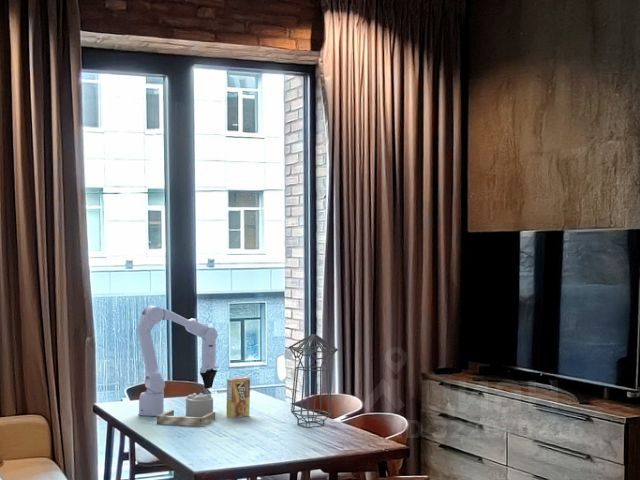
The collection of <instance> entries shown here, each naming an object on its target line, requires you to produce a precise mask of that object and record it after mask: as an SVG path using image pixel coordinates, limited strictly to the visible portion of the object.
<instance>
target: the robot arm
mask: <svg viewBox="0 0 640 480" xmlns="http://www.w3.org/2000/svg"><path fill="white" fill-rule="evenodd" d="M167 320H169V321H171V322H174V323H176V324H178V325H181V326H183V327H184V328H185V330H186V331H187V332H189V333H190V334H192V335H194V336H197V337H198V338H199V337H200V338H201V366H200V368H199V369H200V371H199V375H200V377H201V378H202V383H203V386H204V389H211V388H213V383H214V380H215V377H216V375H217V373H218V370H217V369H218V368H219V365H217V363H216V354H217V353H216V349H217V347H216V346H217V344H216V340H217V339H218V336H219V334H218V332H217V330H216V328H214V327H212V326H209V324H208V323H203V322H201V321H199V319H198V318H190V319H187V318H186V317H183V316H182V315H179V314H177V313H176V312H174V311H172V310H170V309H166V308H162V307H160V306H155V305H150V304H149V305H148V306H146V307H145V308H144V309H143V310H142V312H141V316H140V319H139V322H138V324H137V328H136V329H137V333H138V339H139V344H140V348H141V349H140V350H141V353H142V358H143V363H144V368H145V372H144V377H145V379H144V387H145V388H146V390H145V391H143V392H141V393H140V395H139V396H138V397H139V399H138V416H148V417H157V416H158V415H160V414H162V413H165V412H166V411H164V406H165V405H164V401H165V400H164V398H165V397H164V395H165V394H164V393H165V390H164V389H165V388H166V382H165V380H164V379H163V377H162V374H161V371H160V369H159V365H158V361H157V357H156V351H155V347H154V342H153V336H152V330H153V329H154V327H156V325H157V324H159V323H161V321H167Z"/></svg>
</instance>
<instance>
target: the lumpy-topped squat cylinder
mask: <svg viewBox="0 0 640 480" xmlns="http://www.w3.org/2000/svg"><path fill="white" fill-rule="evenodd" d="M211 412H214V398H213V397H212V395H211V394H210V393H206V394H204V393H203V392H199V394H197V393H196V392H194V393H192V394H188V395H187V397H186V398H185V417H203V416H205V415H207V414H209V413H211Z"/></svg>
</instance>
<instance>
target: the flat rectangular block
mask: <svg viewBox="0 0 640 480" xmlns="http://www.w3.org/2000/svg"><path fill="white" fill-rule="evenodd" d="M164 412H165V413H162V414H160V415H158V416H156V424H157V425H170V426H171V425H175V426H189V427H191V426H194V427H205V426H207V425H209V424H210V423H212V422H214V421H216V412H215V411H213V412H211V413H209V414H207V415H205V416H203V417H187V416H180V415H178V416H177V415H175V409H169V410H167V411H164Z"/></svg>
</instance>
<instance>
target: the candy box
mask: <svg viewBox="0 0 640 480" xmlns="http://www.w3.org/2000/svg"><path fill="white" fill-rule="evenodd" d="M250 392H251V378H250V377H245V376H243V377H235V378H234V377H233V378H227V379H226V412H225V413H226V417H227V418H229V419H230V418H231V419H234V418H235V419H236V418H241V417H242V418H243V417H248V416H249V417H250V405H251V404H250V403H251V402H250V401H251V400H250V397H251V395H250V394H251V393H250Z"/></svg>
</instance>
